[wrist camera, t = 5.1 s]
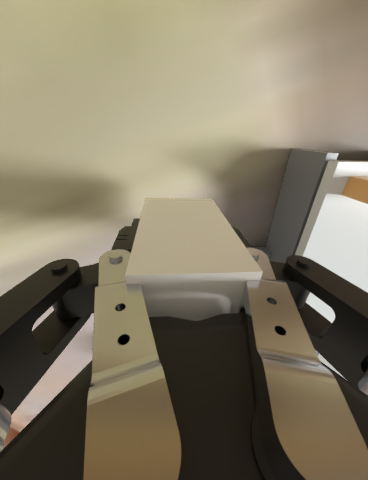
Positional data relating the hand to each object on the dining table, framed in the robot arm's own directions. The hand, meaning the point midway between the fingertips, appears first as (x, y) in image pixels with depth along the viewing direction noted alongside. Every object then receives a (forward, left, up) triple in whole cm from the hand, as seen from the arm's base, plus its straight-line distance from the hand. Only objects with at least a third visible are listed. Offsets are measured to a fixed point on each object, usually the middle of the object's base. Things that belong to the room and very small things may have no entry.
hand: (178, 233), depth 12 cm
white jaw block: (0, 0, -1) cm, 1 cm away
